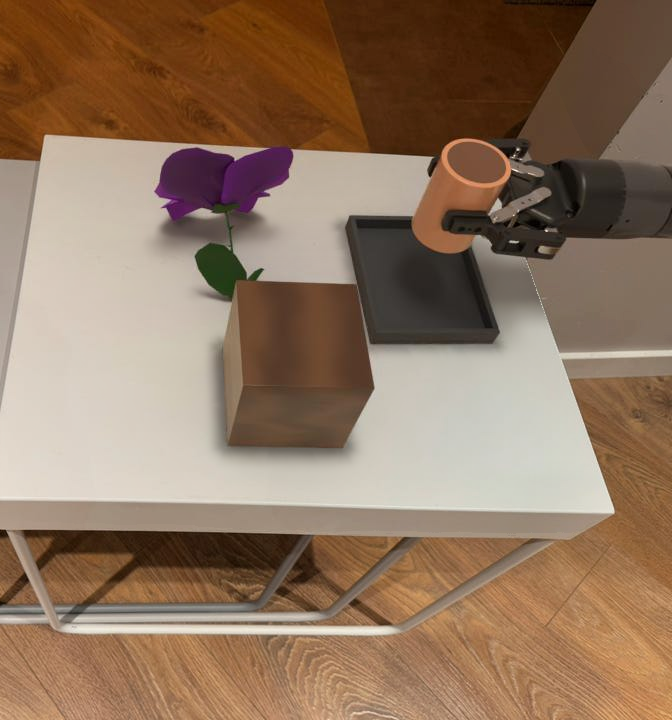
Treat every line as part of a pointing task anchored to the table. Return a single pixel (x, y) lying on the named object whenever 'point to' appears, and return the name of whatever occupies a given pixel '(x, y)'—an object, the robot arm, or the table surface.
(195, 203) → the flower
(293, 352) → the block
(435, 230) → the cup
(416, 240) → the tray
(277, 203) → the table surface
